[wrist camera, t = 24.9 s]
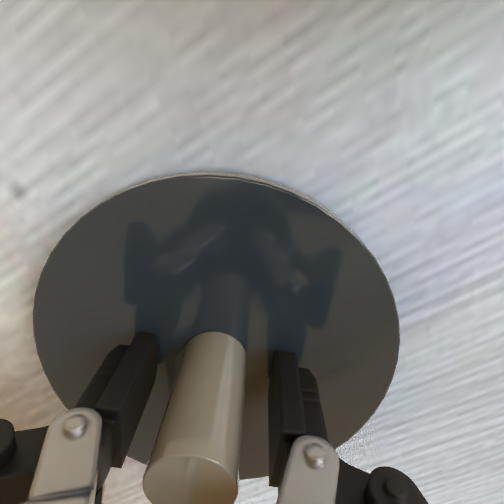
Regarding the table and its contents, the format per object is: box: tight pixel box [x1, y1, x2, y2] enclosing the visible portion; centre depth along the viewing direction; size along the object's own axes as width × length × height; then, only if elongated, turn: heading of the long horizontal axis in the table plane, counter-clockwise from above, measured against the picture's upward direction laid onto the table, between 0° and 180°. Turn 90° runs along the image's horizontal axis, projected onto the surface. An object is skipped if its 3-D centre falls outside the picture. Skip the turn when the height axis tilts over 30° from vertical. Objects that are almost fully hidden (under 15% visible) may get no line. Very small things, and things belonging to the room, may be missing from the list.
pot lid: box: [33, 172, 400, 504], centre depth 12 cm, size 14×14×6 cm
